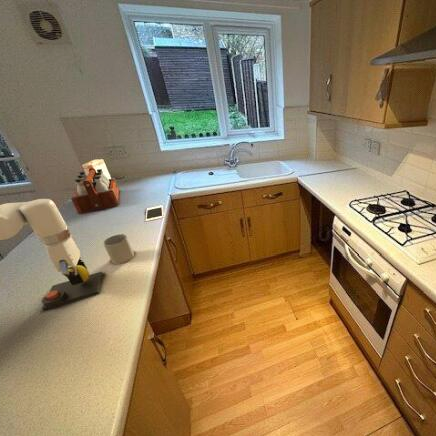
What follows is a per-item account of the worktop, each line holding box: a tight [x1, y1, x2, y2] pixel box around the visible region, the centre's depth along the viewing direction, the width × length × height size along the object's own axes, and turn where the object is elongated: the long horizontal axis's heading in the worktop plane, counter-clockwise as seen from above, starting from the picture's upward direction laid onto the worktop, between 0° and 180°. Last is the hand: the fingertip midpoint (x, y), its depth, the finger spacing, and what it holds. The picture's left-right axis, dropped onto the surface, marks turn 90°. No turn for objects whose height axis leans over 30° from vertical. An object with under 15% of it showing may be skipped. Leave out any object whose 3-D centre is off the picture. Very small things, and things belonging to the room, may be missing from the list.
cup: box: [102, 233, 135, 265], centre depth 101 cm, size 8×8×10 cm
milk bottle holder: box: [70, 168, 120, 214], centre depth 155 cm, size 21×35×19 cm, turn 32°
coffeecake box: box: [81, 158, 112, 182], centre depth 182 cm, size 15×7×20 cm, turn 6°
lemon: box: [68, 265, 90, 284], centre depth 86 cm, size 6×6×8 cm
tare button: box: [45, 290, 60, 300], centre depth 81 cm, size 3×3×2 cm
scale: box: [40, 271, 104, 312], centre depth 86 cm, size 15×12×4 cm
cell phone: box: [145, 205, 164, 222], centre depth 141 cm, size 9×18×1 cm, turn 26°
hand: (80, 276), depth 87 cm, fingers open, 6 cm apart
